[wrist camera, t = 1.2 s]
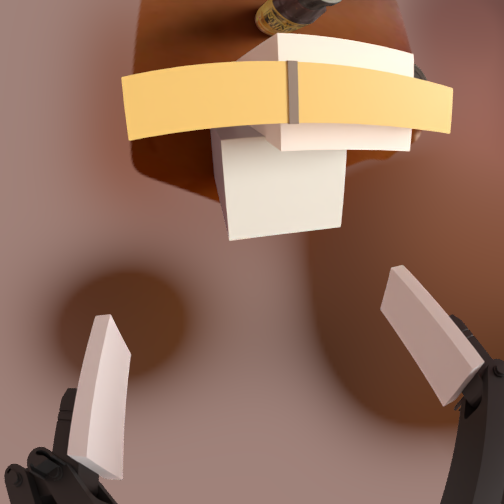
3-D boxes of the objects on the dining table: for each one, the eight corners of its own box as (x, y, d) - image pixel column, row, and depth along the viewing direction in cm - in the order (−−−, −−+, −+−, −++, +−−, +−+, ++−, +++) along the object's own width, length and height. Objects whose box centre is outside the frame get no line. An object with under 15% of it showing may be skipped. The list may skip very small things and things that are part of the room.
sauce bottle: (248, 30, 36) (284, -5, 19) (260, 0, 33) (301, -47, 16) (287, 43, 38) (344, 21, 21) (298, 13, 35) (358, -20, 18)
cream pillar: (233, 119, 43) (278, 154, 21) (229, 63, 38) (274, 30, 16) (307, 116, 45) (411, 153, 22) (306, 63, 40) (415, 52, 17)
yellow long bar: (137, 134, 18) (128, 141, 15) (131, 78, 16) (120, 76, 13) (427, 126, 21) (450, 134, 19) (429, 84, 19) (453, 88, 16)
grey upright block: (214, 177, 48) (229, 240, 29) (209, 118, 43) (220, 140, 24) (284, 170, 49) (340, 226, 31) (283, 113, 44) (347, 135, 26)
